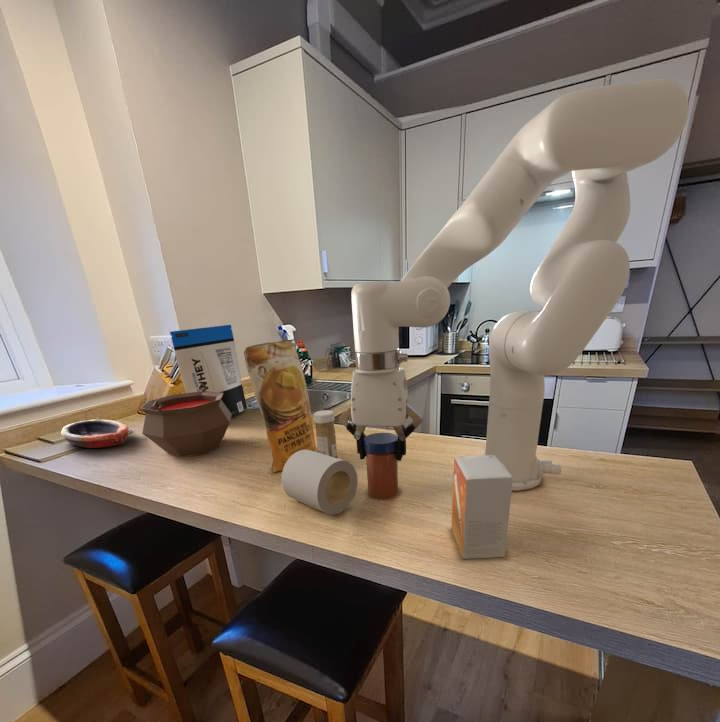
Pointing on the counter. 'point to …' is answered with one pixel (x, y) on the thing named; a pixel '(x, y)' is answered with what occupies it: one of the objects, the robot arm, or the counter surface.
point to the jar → (382, 475)
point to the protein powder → (210, 364)
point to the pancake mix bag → (281, 398)
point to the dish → (95, 433)
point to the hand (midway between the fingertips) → (381, 456)
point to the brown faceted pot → (187, 422)
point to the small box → (481, 506)
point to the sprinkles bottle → (325, 432)
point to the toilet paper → (319, 481)
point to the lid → (380, 443)
